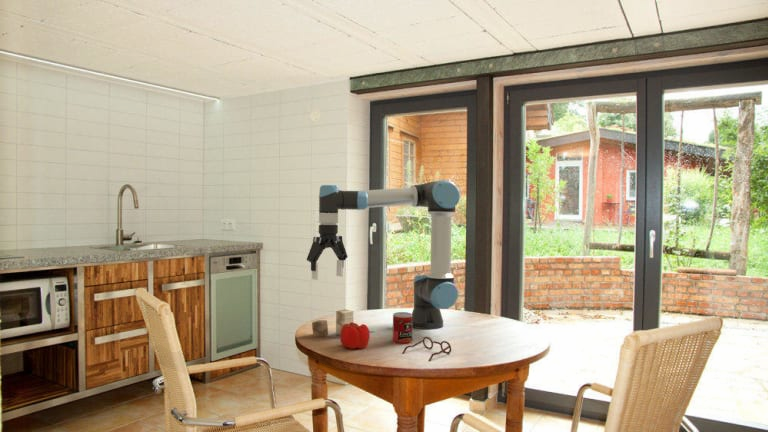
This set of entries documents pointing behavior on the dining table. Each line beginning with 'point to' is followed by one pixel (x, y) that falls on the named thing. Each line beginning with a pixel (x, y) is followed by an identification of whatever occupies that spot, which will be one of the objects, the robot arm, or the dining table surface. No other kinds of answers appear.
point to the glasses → (431, 346)
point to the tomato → (354, 336)
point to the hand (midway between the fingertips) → (327, 277)
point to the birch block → (343, 319)
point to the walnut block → (320, 328)
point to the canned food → (402, 327)
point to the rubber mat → (339, 336)
